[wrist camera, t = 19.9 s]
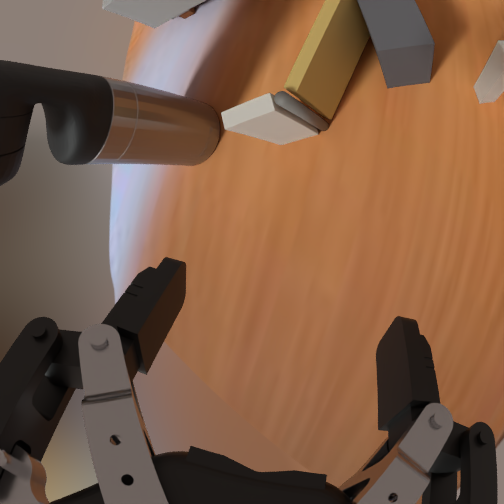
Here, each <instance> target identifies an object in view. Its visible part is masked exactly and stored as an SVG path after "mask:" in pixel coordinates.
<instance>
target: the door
mask: <svg viewBox="0 0 504 504" xmlns="http://www.w3.org/2000/svg"><path fill="white" fill-rule="evenodd" d="M369 36H370V34H369V31H368V28H367V25H366V22H365V20H364V17H363V14H362V12H361V9H360V7H359V4H358V2H357V0H326V1H325V3H324V5H323V7H322V9H321V11H320V13H319V15H318V17H317V19H316V21H315V23H314V25H313V27H312V29H311V31H310V33H309V35H308V37H307V39H306V41H305V43H304V45H303V47H302V49H301V51H300V53H299V56H298V58H297V60H296V62H295V64H294V66H293V68H292V70H291V72H290V75H289V77H288V79H287V81H286V83H285V85H284V88H285V89H287V90H288V91H289V92H291V93H292V94H294V95H295V96H296V97H298V98H299V99H300V100H302V101H303V102H304V103H306V104H307V105H308V106H310V107H311V108H312V109H314V110H315V111H316V112H317V113H319V114H320V115H321V116H323V117H326V118H328V119H330V120H331V119H332V117H333V115H334V113H335V111H336V108H337V106H338V104H339V102H340V100H341V98H342V95H343V93H344V91H345V89H346V87H347V85H348V82H349V80H350V78H351V76H352V74H353V72H354V69H355V67H356V65H357V63H358V61H359V58H360V56H361V54H362V52H363V50H364V47H365V45H366V43H367V41H368V39H369Z"/></svg>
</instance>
